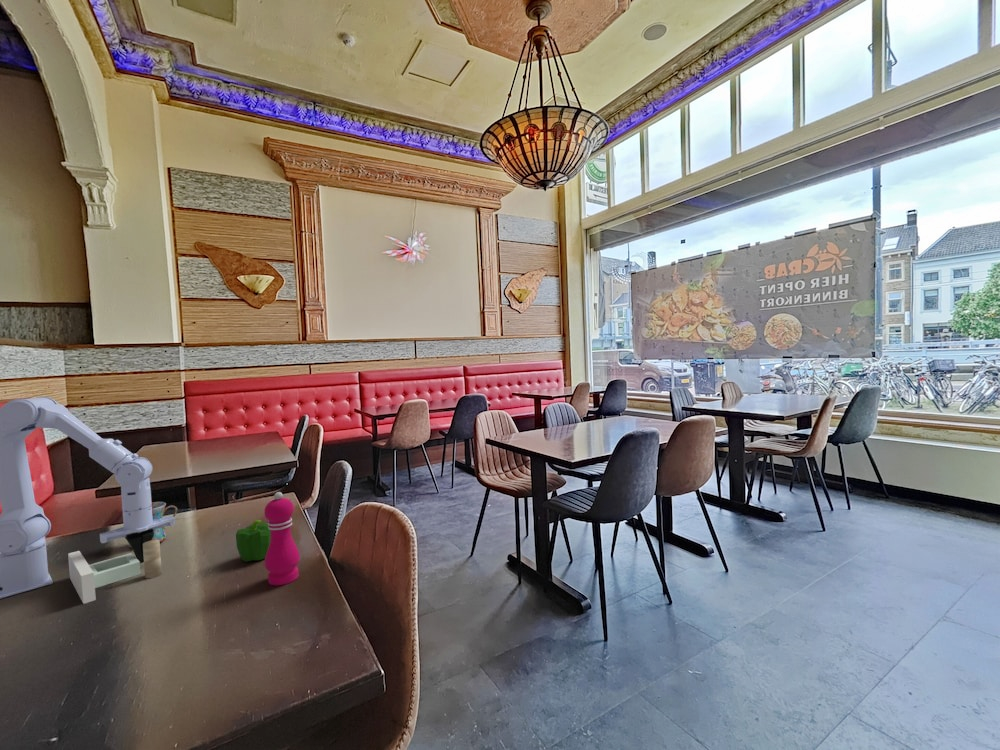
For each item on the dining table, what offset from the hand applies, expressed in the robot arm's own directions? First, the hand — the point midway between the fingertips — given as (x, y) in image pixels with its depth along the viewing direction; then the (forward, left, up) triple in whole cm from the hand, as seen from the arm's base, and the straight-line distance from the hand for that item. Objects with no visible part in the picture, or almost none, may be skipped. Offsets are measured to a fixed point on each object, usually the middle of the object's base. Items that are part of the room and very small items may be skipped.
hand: (141, 561), depth 114 cm
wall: (-11, -2, -2) cm, 12 cm away
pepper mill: (+19, -37, -2) cm, 41 cm away
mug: (+7, +19, -2) cm, 20 cm away
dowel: (+1, -8, -2) cm, 8 cm away
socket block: (-6, 0, -2) cm, 6 cm away
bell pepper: (+20, -19, -2) cm, 27 cm away
